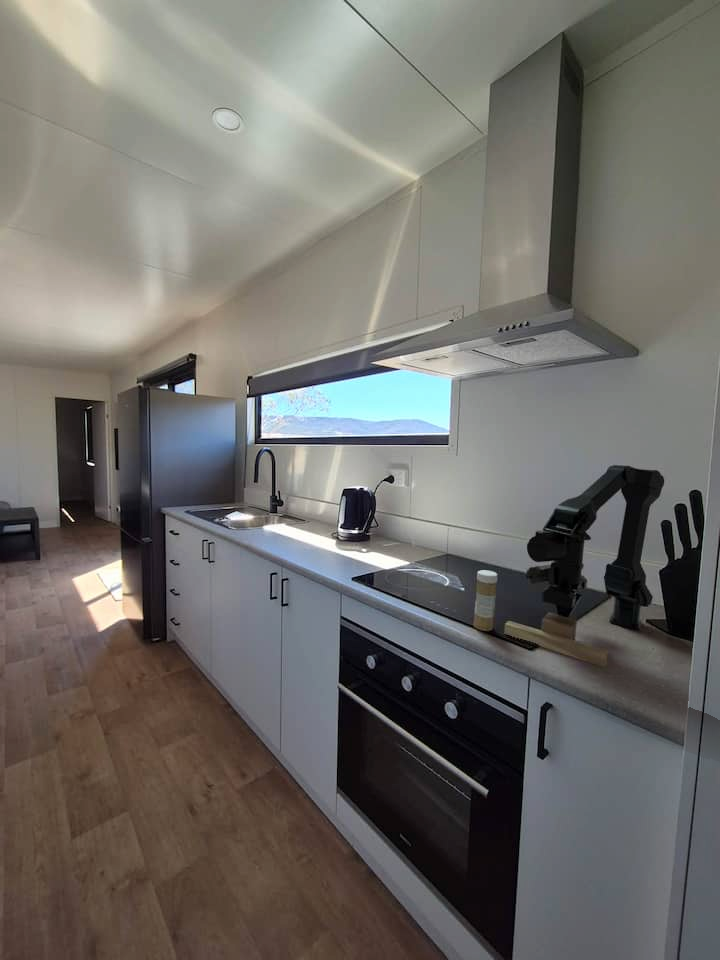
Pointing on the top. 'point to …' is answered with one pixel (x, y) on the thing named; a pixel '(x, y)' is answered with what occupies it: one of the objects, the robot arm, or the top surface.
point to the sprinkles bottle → (485, 600)
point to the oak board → (557, 643)
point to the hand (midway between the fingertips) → (562, 623)
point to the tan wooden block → (559, 625)
